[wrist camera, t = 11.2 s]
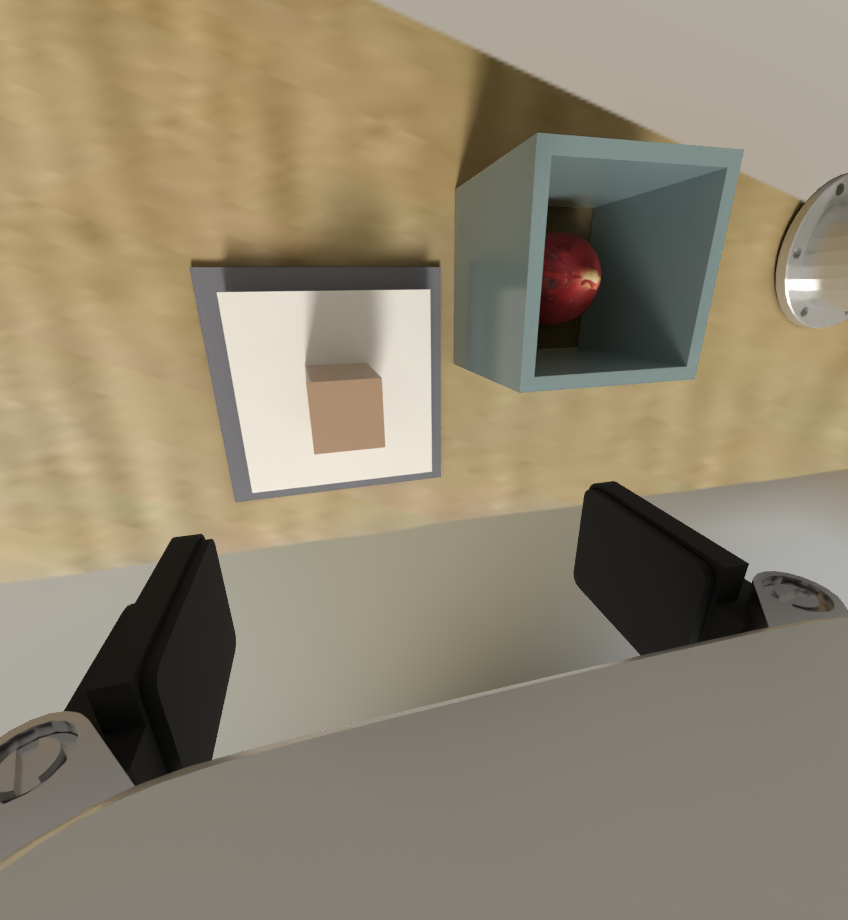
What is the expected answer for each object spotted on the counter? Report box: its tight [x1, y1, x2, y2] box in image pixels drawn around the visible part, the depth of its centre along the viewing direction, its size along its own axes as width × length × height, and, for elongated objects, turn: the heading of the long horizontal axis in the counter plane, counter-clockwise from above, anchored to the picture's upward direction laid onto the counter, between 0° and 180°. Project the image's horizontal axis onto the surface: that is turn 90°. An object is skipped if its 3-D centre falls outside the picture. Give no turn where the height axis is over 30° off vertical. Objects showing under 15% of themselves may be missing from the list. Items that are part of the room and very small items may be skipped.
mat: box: [190, 267, 441, 502], centre depth 31 cm, size 16×16×1 cm
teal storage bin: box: [454, 133, 744, 393], centre depth 27 cm, size 12×12×11 cm
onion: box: [539, 232, 602, 325], centre depth 29 cm, size 6×6×8 cm
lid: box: [217, 289, 432, 493], centre depth 27 cm, size 13×13×8 cm
